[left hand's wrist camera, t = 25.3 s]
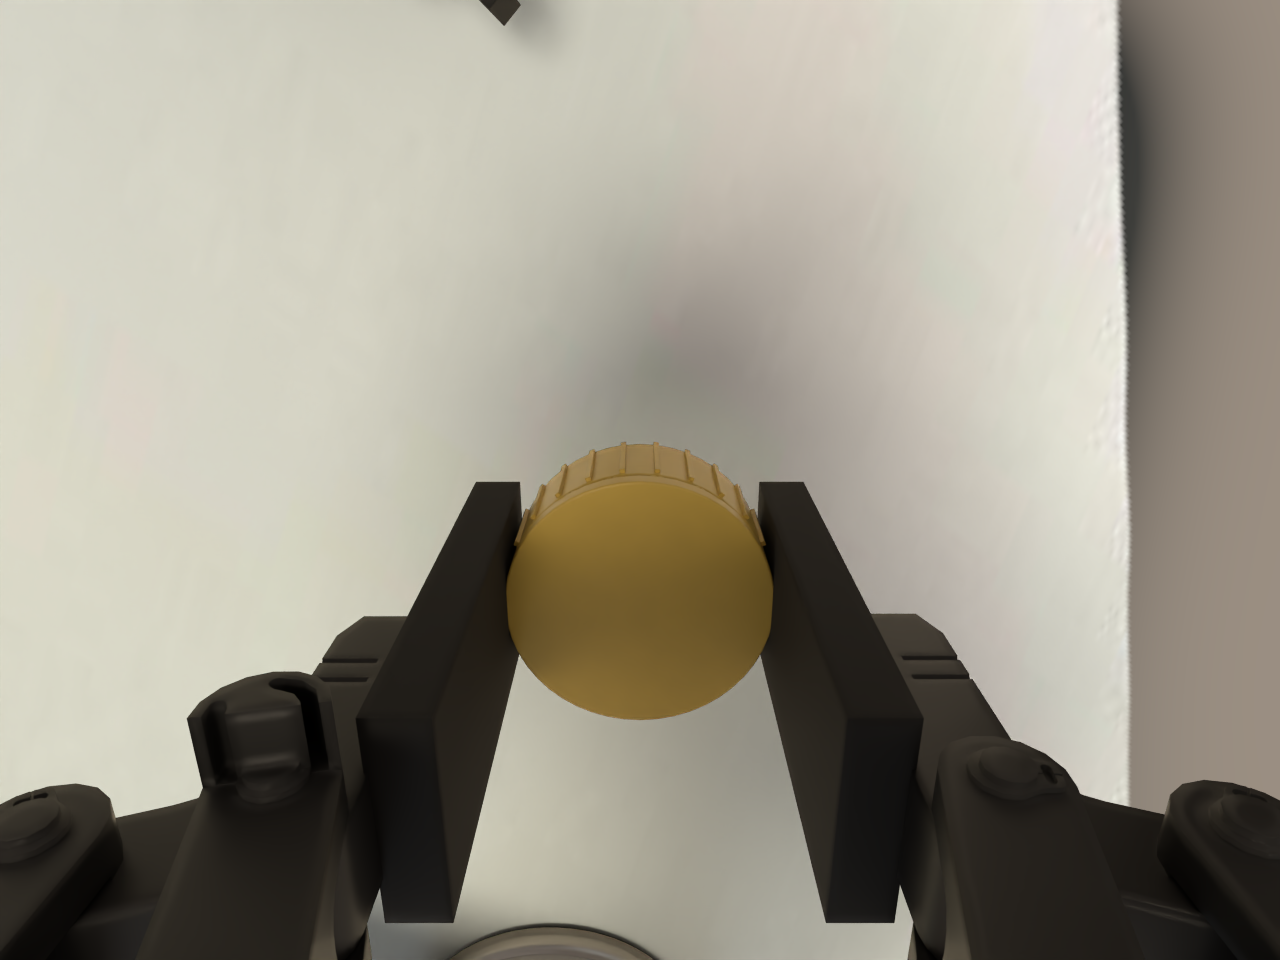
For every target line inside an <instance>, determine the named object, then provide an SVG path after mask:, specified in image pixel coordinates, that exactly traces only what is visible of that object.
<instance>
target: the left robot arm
mask: <svg viewBox="0 0 1280 960" xmlns="http://www.w3.org/2000/svg"><path fill="white" fill-rule="evenodd" d="M521 521H522V511H521V493H520V482H476V483H475V485H474V487H473V489H472V491H471V493H470V495H469V497H468V499H467V501H466V503H465V505H464V507H463V509H462V511H461V512H460V514H459V516H458V518H457V520H456V522H455V524H454V526H453V528H452V530H451V532H450V534H449V536H448V538H447V540H446V542H445V544H444V546H443V548H442V550H441V552H440V554H439V556H438V558H437V559H436V561H435V563H434V565H433V567H432V569H431V571H430V573H429V575H428V577H427V579H426V581H425V583H424V585H423V587H422V589H421V591H420V593H419V595H418V597H417V599H416V601H415V603H414V604H413V606H412V608H411V610H410V612H409V614H408V616H364V617H363V618H361V619H360V620H358V621H357V622H356V623H354V624H353V625H351V626H350V627H349V628H347V629H346V630H344V631H343V632H342V633H340V634H339V635H338V636H337V637H336V638H335V640H334V641H333V643H332V644H331V646H330V648H329V649H328V651H327V652H326V654H325V655H324V657H323V661H322V663H319V665H318V666H317V668H316V669H315V671H314V673H313V674H312V675H309V674H306V673H302V672H270V673H265V674H261V675H256V676H251V677H246V678H244V679H242V680H239V681H237V682H234V683H232V684H229V685H227V686H224V687H222V688H220V689H219V690H217V691H216V692H214V693H213V694H211V695H210V696H208V697H207V698H205V699H204V700H202V701H201V702H200V703H199V704H198V705H197V706H196V708H195V709H194V710H193V711H192V713H191V714H190V715H189V716H188V718H187V721H188V726H189V730H190V734H191V739H192V743H193V747H194V751H195V756H196V760H197V764H198V769H199V773H200V777H201V782H202V786H203V789H202V791H201V794H200V797H199V798H197V799H194V800H190V801H187V802H183V803H180V804H176V805H173V806H168V807H163V808H159V809H154V810H150V811H145V812H141V813H136V814H132V815H127V816H123V817H118V818H115V814H114V811H113V807H112V804H111V800H110V798H109V797H108V796H107V795H106V794H104V793H103V792H102V791H101V790H100V789H99V788H97V787H92V786H86V785H81V784H68V785H58V786H49V787H45V788H42V789H38V790H34V791H32V792H28V793H25V794H22V795H19V796H16V797H14V798H12V799H10V800H8V801H6V802H4V803H2V804H0V960H372V955H371V948H370V941H369V934H368V928H367V922H368V919H369V916H370V913H371V911H372V908H373V905H374V902H375V899H376V897H377V894H378V891H379V888H380V891H381V898H382V905H383V911H384V918H385V923H453V922H454V918H455V914H456V910H457V906H458V902H459V898H460V894H461V890H462V886H463V882H464V877H465V873H466V869H467V865H468V861H469V857H470V853H471V849H472V845H473V841H474V837H475V832H476V828H477V824H478V820H479V816H480V812H481V808H482V804H483V800H484V796H485V792H486V787H487V783H488V779H489V775H490V771H491V767H492V763H493V759H494V755H495V751H496V747H497V743H498V738H499V734H500V730H501V726H502V722H503V718H504V714H505V710H506V706H507V702H508V698H509V693H510V689H511V685H512V681H513V677H514V673H515V669H516V665H517V661H518V657H519V653H518V651H517V649H516V646H515V644H514V642H513V640H512V638H511V634H510V631H509V625H508V611H507V594H506V582H507V576H508V573H509V569H510V566H511V563H512V560H513V557H514V554H515V550H516V547H517V546H514V542H515V539H516V536H517V533H518V530H519V527H520V524H521ZM758 521H759V524H760V528H761V531H762V534H763V537H764V540H765V543H766V545H765V546H763V548H764V551H765V554H766V557H767V561H768V564H769V567H770V570H771V573H772V577H773V602H772V617H771V630H770V634H769V637H768V639H767V642H766V644H765V646H764V648H763V651H762V652H761V654H760V655H761V659H762V663H763V667H764V671H765V675H766V679H767V683H768V687H769V692H770V696H771V700H772V704H773V708H774V712H775V716H776V720H777V724H778V728H779V732H780V737H781V741H782V745H783V749H784V753H785V757H786V761H787V765H788V769H789V773H790V777H791V782H792V786H793V790H794V794H795V798H796V802H797V806H798V810H799V814H800V818H801V822H802V827H803V831H804V835H805V839H806V843H807V847H808V851H809V855H810V859H811V863H812V867H813V872H814V876H815V880H816V884H817V888H818V892H819V896H820V900H821V904H822V908H823V912H824V917H825V921H826V923H894V921H895V914H896V908H897V901H898V894H899V887H900V886H901V889H902V891H903V894H904V897H905V900H906V903H907V905H908V908H909V911H910V914H911V916H912V919H913V928H912V934H911V941H910V947H909V954H908V960H1280V800H1278V799H1276V798H1274V797H1272V796H1270V795H1268V794H1266V793H1263V792H1260V791H1258V790H1255V789H1252V788H1247V787H1245V786H1241V785H1237V784H1234V783H1228V782H1218V781H1209V780H1201V781H1196V782H1191V783H1185V784H1182V785H1181V786H1180V787H1179V788H1177V789H1176V790H1175V791H1174V792H1173V793H1172V794H1171V795H1170V798H1169V801H1168V805H1167V808H1166V812H1165V815H1164V814H1160V813H1155V812H1150V811H1146V810H1141V809H1137V808H1132V807H1128V806H1123V805H1118V804H1114V803H1109V802H1105V801H1102V800H1098V799H1095V798H1091V797H1088V796H1084V795H1082V794H1080V793H1079V790H1078V788H1077V786H1076V784H1075V783H1074V781H1073V780H1072V778H1071V777H1070V776H1069V774H1068V773H1067V771H1066V770H1065V769H1064V768H1063V767H1062V766H1060V765H1059V764H1058V763H1057V762H1055V761H1054V760H1053V759H1051V758H1050V757H1049V756H1047V755H1046V754H1045V753H1043V752H1040V751H1038V750H1036V749H1034V748H1032V747H1030V746H1027V745H1025V744H1023V743H1021V742H1017V741H1013V740H1011V738H1010V737H1009V735H1008V734H1007V732H1006V731H1005V729H1004V728H1003V726H1002V724H1001V723H1000V721H999V720H998V718H997V717H996V715H995V714H994V712H993V710H992V709H991V707H990V706H989V704H988V703H987V701H986V700H985V698H984V696H983V695H982V693H981V692H980V690H979V689H978V687H977V686H976V684H975V682H974V681H973V679H970V678H969V673H968V672H967V670H966V668H965V667H964V665H963V664H962V662H961V661H960V660H958V659H957V654H956V653H955V651H954V650H953V648H952V647H951V645H950V644H949V642H948V640H947V639H946V637H945V636H944V634H943V633H942V632H940V631H939V630H938V629H936V628H935V627H933V626H932V625H931V624H929V623H928V622H926V621H925V620H924V619H922V618H921V617H919V616H918V615H917V614H871V613H870V612H869V610H868V608H867V606H866V604H865V602H864V600H863V598H862V596H861V594H860V592H859V590H858V588H857V586H856V584H855V582H854V580H853V578H852V576H851V574H850V572H849V570H848V568H847V566H846V565H845V563H844V561H843V559H842V557H841V555H840V553H839V551H838V549H837V547H836V545H835V543H834V541H833V539H832V537H831V535H830V533H829V531H828V529H827V527H826V525H825V523H824V521H823V519H822V518H821V516H820V514H819V512H818V510H817V508H816V506H815V504H814V502H813V500H812V498H811V496H810V494H809V492H808V490H807V488H806V486H805V484H804V482H759V501H758ZM450 960H653V959H652V958H651V957H649V956H648V955H647V954H645V953H643V952H642V951H640V950H638V949H637V948H635V947H633V946H631V945H629V944H627V943H624V942H622V941H619V940H617V939H614V938H612V937H608V936H605V935H602V934H598V933H594V932H590V931H585V930H578V929H571V928H558V927H543V928H529V929H522V930H515V931H511V932H507V933H502V934H499V935H496V936H493V937H489V938H487V939H484V940H482V941H480V942H477V943H475V944H473V945H471V946H469V947H467V948H466V949H464V950H462V951H461V952H459V953H458V954H456V955H455V956H453V957H452V958H451V959H450Z"/></svg>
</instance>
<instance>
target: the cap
mask: <svg viewBox="0 0 1280 960" xmlns="http://www.w3.org/2000/svg"><path fill="white" fill-rule="evenodd" d="M765 545H766V543H765V540H764V537H763V534H762V531H761V528H760V524H759V521H758V518H757V515H756V512H755V510H754V509H751V510H750V508H749V506H748V504H747V502H746V501H745V499H744V498H743V495H742V492H741V489H740V486H739V485H738V484H736V485H735V486H734V485H733V484H732V483H731V481H730V480H729V479H728V478H727V477H725V476H724V475H723V474H722V473H721V472H719V469H718V466H717V465H716V464H713V465H712V466H711V465H710V464H708V463H707V462H705V461H703V460H702V459H699V458H697V457H695V456H693V455H691V454H690V451H689V450H686V449H685V451H684V452H683V451H680V450H677V449H673V448H669V447H664V446H659V443H658V442H654V443H653V445H646V444H633V445H626V442H622V443H621V446H616V447H611V448H606V449H603V450H600V451H597V452H595V450H594V449H593V450H591V451H590V452H589V455H587V456H585V457H583V458H580V459H578V460H576V461H575V462H573V463H572V464H570V465H569V466H567V465H566V464H564V465H563V466H562V468H561V471H560V472H559V473H558V474H557V475H556V476H554V477H553V478H552V479H551V480H550V481H549V482H548V483H547V485H546V486H545V485H543V484H542V485H541V486H540V488H539V491H538V494H537V498H536V499H535V501H534V502H533V504H532V506H531V508H530V510H528V509H526V510H525V512H524V515H523V518H522V521H521V524H520V527H519V530H518V533H517V536H516V539H515V542H514V546H517V547H516V550H515V554H514V557H513V560H512V563H511V566H510V569H509V573H508V576H507V582H506V594H507V611H508V625H509V631H510V634H511V638H512V640H513V642H514V644H515V646H516V649H517V651H518V653H519V654H520V656H521V657H522V659H523V661H524V662H525V664H526V665H527V667H528V668H529V669H530V670H531V671H532V673H533V674H534V675H535V676H536V677H537V678H538V679H539V680H540V681H541V682H542V683H543V684H544V685H545V686H546V687H548V688H549V689H550V690H551V691H553V692H554V693H556V694H557V695H558V696H560V697H561V698H563V699H565V700H566V701H568V702H570V703H572V704H574V705H576V706H578V707H580V708H583V709H585V710H588V711H590V712H593V713H597V714H600V715H604V716H608V717H614V718H620V719H632V720H648V719H660V718H666V717H672V716H676V715H679V714H683V713H686V712H690V711H692V710H695V709H697V708H699V707H702V706H704V705H706V704H708V703H710V702H712V701H713V700H715V699H717V698H719V697H720V696H722V695H723V694H724V693H726V692H727V691H728V690H730V689H731V688H732V687H733V686H735V685H736V684H737V683H738V682H739V681H740V680H741V679H742V678H743V677H744V676H745V675H746V674H747V672H748V671H749V670H750V669H751V668H752V666H753V665H754V664H755V662H756V660H757V659H758V657H759V656H760V654H761V652H762V651H763V648H764V646H765V644H766V642H767V639H768V637H769V634H770V630H771V617H772V602H773V577H772V573H771V570H770V567H769V564H768V561H767V557H766V554H765V551H764V548H763V546H765Z"/></svg>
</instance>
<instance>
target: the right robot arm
mask: <svg viewBox="0 0 1280 960" xmlns="http://www.w3.org/2000/svg"><path fill="white" fill-rule="evenodd" d="M479 1H480V2H481V3H482V4H483V5H484V6H485V7H486V8H487V9H488V10H489V11H490V12H491V13H492V14H493V15H494V16H495V17H496V18H497V19H498V20H499V21H500V22H501V23H502V24H503V25H505V24H506V23H507V22H508V20H509V19H510V18H511V17H512V15H513V14H514V13H515V12H516V11H517V9H518V8H519V7H520V6H521V5H520V3H519V2H518V0H479Z"/></svg>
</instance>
